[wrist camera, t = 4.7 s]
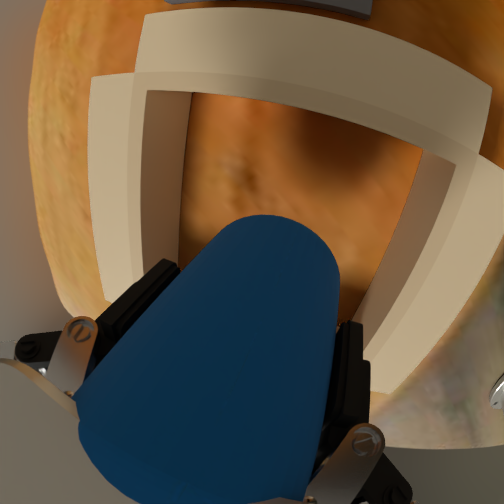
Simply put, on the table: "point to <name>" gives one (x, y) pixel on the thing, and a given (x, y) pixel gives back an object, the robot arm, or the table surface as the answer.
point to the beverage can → (221, 374)
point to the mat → (317, 5)
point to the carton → (319, 100)
